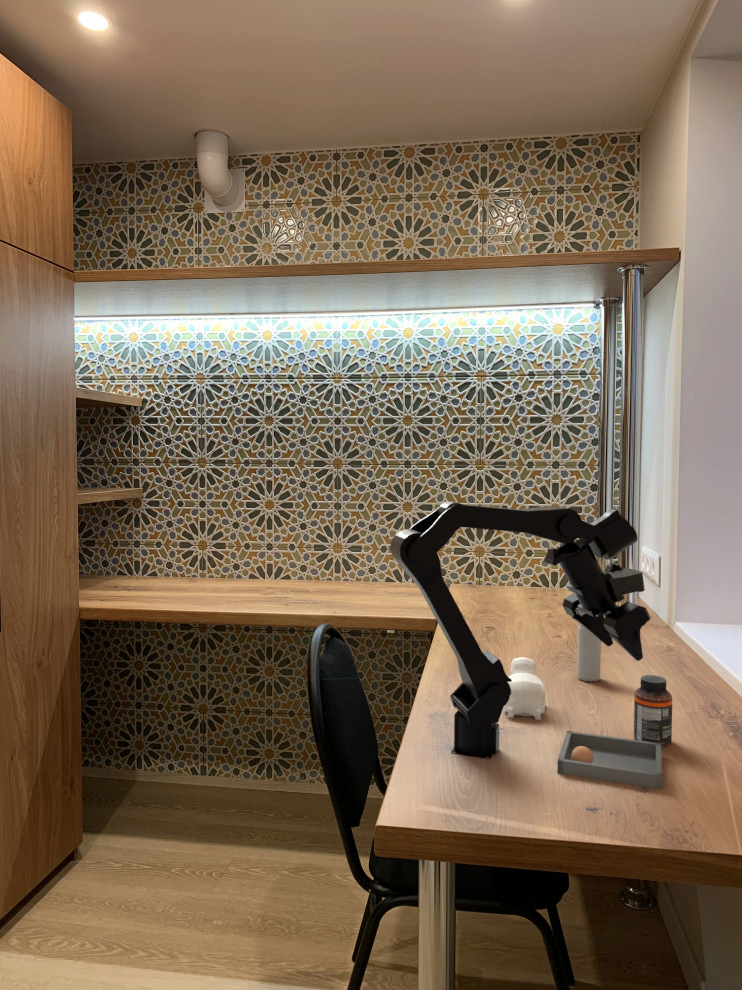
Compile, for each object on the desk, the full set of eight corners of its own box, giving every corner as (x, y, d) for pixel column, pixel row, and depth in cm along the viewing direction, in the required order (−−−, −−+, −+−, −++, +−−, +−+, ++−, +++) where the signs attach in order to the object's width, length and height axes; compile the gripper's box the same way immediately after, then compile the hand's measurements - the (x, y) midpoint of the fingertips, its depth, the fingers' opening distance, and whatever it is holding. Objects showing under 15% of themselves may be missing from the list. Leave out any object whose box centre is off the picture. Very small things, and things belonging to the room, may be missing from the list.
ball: (570, 769, 111) (570, 749, 110) (572, 761, 114) (572, 741, 113) (592, 773, 110) (592, 752, 109) (593, 764, 112) (594, 744, 112)
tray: (557, 776, 110) (557, 760, 110) (566, 745, 121) (567, 730, 121) (661, 792, 104) (661, 775, 104) (660, 758, 116) (661, 743, 116)
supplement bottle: (640, 734, 126) (641, 670, 125) (676, 743, 122) (677, 677, 122) (628, 745, 122) (629, 678, 121) (664, 754, 118) (666, 686, 117)
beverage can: (584, 674, 161) (585, 620, 160) (604, 678, 157) (605, 624, 157) (572, 678, 157) (573, 624, 157) (593, 683, 154) (594, 627, 153)
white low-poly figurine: (547, 737, 133) (544, 683, 146) (549, 700, 129) (545, 649, 143) (500, 733, 134) (501, 681, 148) (500, 697, 131) (501, 646, 144)
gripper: (655, 556, 113) (697, 640, 115) (595, 542, 131) (632, 615, 134) (597, 594, 112) (641, 678, 114) (545, 574, 130) (583, 647, 132)
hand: (624, 652), depth 123 cm, fingers open, 9 cm apart
